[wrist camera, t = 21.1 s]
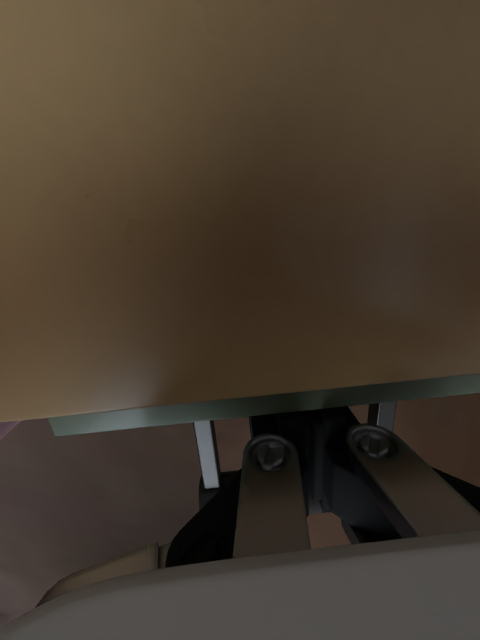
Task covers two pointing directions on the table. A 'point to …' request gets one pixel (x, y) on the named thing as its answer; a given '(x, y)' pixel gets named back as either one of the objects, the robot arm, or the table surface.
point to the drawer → (206, 412)
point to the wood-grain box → (235, 199)
